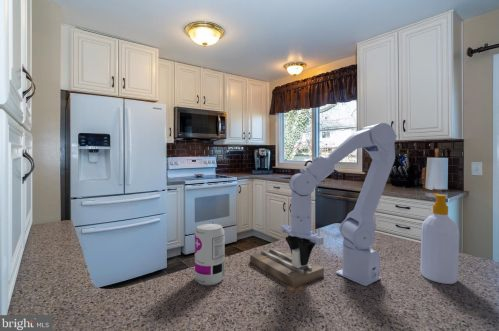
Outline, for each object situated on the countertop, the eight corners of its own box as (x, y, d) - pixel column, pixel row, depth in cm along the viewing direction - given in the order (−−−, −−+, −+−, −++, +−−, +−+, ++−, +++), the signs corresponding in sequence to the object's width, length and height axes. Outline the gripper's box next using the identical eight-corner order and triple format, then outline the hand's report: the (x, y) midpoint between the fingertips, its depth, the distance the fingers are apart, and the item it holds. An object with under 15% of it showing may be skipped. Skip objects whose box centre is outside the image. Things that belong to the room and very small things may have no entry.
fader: (309, 267, 74) (309, 249, 74) (298, 271, 72) (299, 252, 71) (301, 263, 77) (302, 246, 76) (291, 267, 74) (291, 249, 74)
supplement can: (196, 288, 68) (195, 231, 67) (194, 274, 75) (193, 223, 75) (226, 284, 70) (226, 229, 69) (221, 271, 78) (221, 221, 77)
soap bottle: (447, 271, 78) (450, 193, 77) (463, 286, 69) (467, 198, 68) (415, 268, 80) (417, 192, 80) (426, 282, 71) (429, 196, 71)
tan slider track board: (323, 276, 75) (323, 265, 75) (293, 288, 68) (294, 276, 68) (277, 254, 91) (277, 245, 91) (250, 262, 84) (250, 252, 84)
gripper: (273, 212, 77) (273, 257, 78) (311, 223, 65) (310, 276, 66) (290, 210, 81) (290, 252, 82) (328, 219, 69) (328, 269, 70)
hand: (300, 262), depth 74 cm, fingers closed on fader, 2 cm apart
